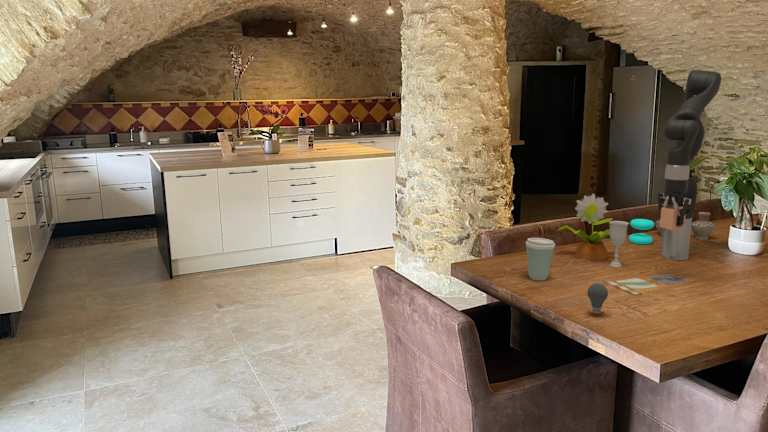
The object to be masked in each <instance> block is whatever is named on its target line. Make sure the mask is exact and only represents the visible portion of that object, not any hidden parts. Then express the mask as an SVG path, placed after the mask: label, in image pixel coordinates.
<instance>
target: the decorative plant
mask: <svg viewBox="0 0 768 432" xmlns="http://www.w3.org/2000/svg"><path fill="white" fill-rule="evenodd" d="M576 203H577V204H576V207H574V209H575V210H576V212H577V214H576V218H579V217H580V219H581V220H580V221H581V222H582V223H583V222H588V224H589V225H591V234H590V235H588V234H587V233H586V232H584V231H583V230H582V229H581V228H580V229H578V230H575V229H574V228H572V227H570V226H568V225H566V224H565V225H564V226H559V228H558V230H557V232H559V231H562V230H565V231H566V230H567V231H569V232H571V233H572V234H574V235H576V236H577V237H579V238H581V239H582V240H581V242H580V244H578V246H577V247H576V251H575V256H576V257H577V258H579V259H584V260H586V261H587V260H588V261H601V260H602V261H603V260H607V259H608V258H609V253H608V249H607V247H606V246H605V244H604V241H603V239H605V238H607V237H608V236H610V235H609V232H610V229H606V230H604V231H602V230H601V231H594V226H596V225H597V226H598V225H601V224H605V223H609V221H613V218H612V217H611V218H605V217H604V215H605V214H606V213H608V210H607V206H608V205H609V203H608V202H605V200H604V197H599V196H598V197H596V194H595V193H592V194H590V195H584V196H583V198H582V199H581V200H578V199H577V200H576ZM604 218H605V219H604ZM601 219H602V220H601Z"/></svg>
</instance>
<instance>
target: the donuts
mask: <svg viewBox="0 0 768 432" xmlns="http://www.w3.org/2000/svg"><path fill="white" fill-rule="evenodd" d="M629 226H630V227H632V228H634V229H636V230H640V231H642V230H643V231H645V230H647V231H648V230H651V229H653V228H654V227H655V222H654V221H653V220H650V219H645V218H635V219H632V220H630V222H629ZM628 241H629V242H631V243H632V244H637V245H650V244H652V243H653V241H654V238H653V236H651V235H649V234H648V233H643V232H640V233H639V232H637V233H635V232H634V233H632V234H630V235H629V237H628Z"/></svg>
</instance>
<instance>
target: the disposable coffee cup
mask: <svg viewBox="0 0 768 432" xmlns="http://www.w3.org/2000/svg"><path fill="white" fill-rule="evenodd" d="M525 245H526V246H525V248H526V259H527V268H528V269H527V270H528V276H529V279H530V280H534V281H546V280H547V278H548V277H549V273H550V268H551V265H552V259H553V255H554V252H555V247H556V243H555V242H554V240H553V239H548V238H543V237H528V238H527V240H526V241H525Z"/></svg>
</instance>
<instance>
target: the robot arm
mask: <svg viewBox="0 0 768 432" xmlns="http://www.w3.org/2000/svg"><path fill="white" fill-rule="evenodd" d="M721 82H722V75H721V73H719V72H718V71H713V70H712V71H711V70H702V69H701V70H699V69H693V70H691V71H690V72H689V73H688V76H687V79H686V83H685V91H684V98H683V103H682V105H681V107H680V109H679V110H678V112H677V113H675V114H674V115H673V116H672V117H670V118H669V119H668V120H667V122H666V123H665V124H664V127H663V135H664V137H665V138H666V139H667V140H670V141H675V144H674V146H671V147H670V148H669V149H668V151H667V158H666V167H665V171H664V172H665V173H664V183H663V189H664V192H658V193H657V209H658V210H660V211H661V208H663V207H666V208H667V207H673V206H674V208H675V210H677V215H678V216H677V221H676V226H678V227H679V226H682V225H683V221H684V216H685V215H686V217H685V227H684V229H678V230H669V229H666V231H665V233H664V234H663V236H662V245H661V256H662V257H663V258H665V259H666V260H671V261H673V260H674V261H686V260H688V259H689V251H690V244H691V243H690V242H691V233H692V232H691V231H692V227H691V224H692V223H693V214H694V212H695V209H696V201H697V195H698V183H697V180H696V179H695V178H694V177H691V176H690V163H691V161H692V160H693V159H694V158H695V157H696V156H697V154H698V153H699V152H700V150H701V148H702V145H703V142H704V141H703V140H704V137H705V126H704V124H703V123H702V119H701V116H702V113H703V112H704V110H705V108H706V107H707V106H708V105H709V104H710V103H711V102H712V100H713V99H714V98H715V97H716V95H717V94H718V92H719V90H720V87H721V84H722V83H721ZM680 210H682V212H680Z"/></svg>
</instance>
